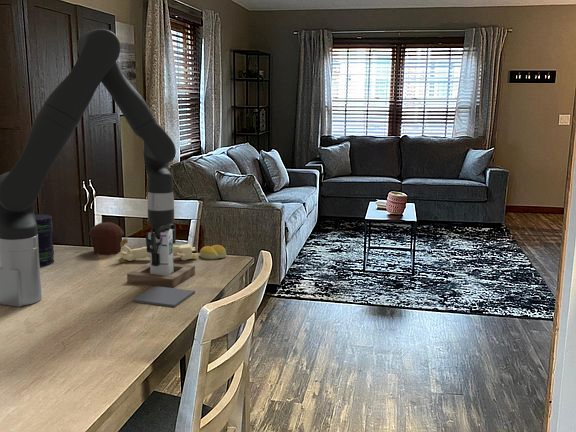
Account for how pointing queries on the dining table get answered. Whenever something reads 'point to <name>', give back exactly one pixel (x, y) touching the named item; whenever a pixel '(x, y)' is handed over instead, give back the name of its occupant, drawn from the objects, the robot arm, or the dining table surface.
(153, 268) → the syrup box
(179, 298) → the charcoal mat
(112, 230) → the muffin
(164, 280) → the walnut socket
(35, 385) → the dining table surface
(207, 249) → the bread roll
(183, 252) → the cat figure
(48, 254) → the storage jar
